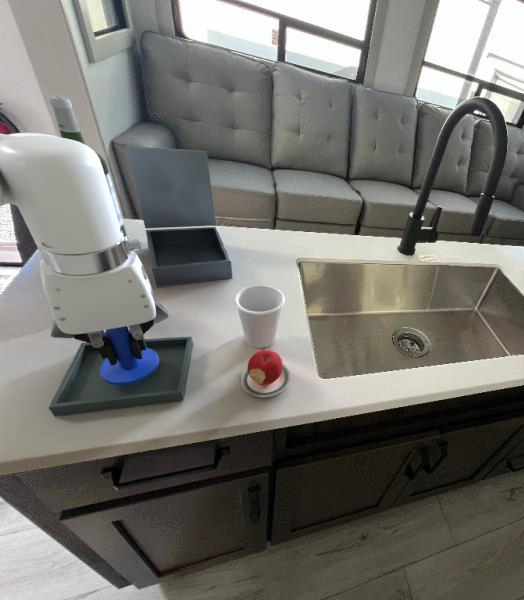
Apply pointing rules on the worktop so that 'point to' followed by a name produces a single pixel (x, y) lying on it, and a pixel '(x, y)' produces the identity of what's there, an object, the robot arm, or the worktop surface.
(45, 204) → the robot arm
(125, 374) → the blue disc with rod
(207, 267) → the open box
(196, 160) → the gray box lid
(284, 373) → the bitten apple on plate
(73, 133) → the wine bottle
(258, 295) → the dixie cup
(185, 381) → the tray
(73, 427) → the worktop surface
